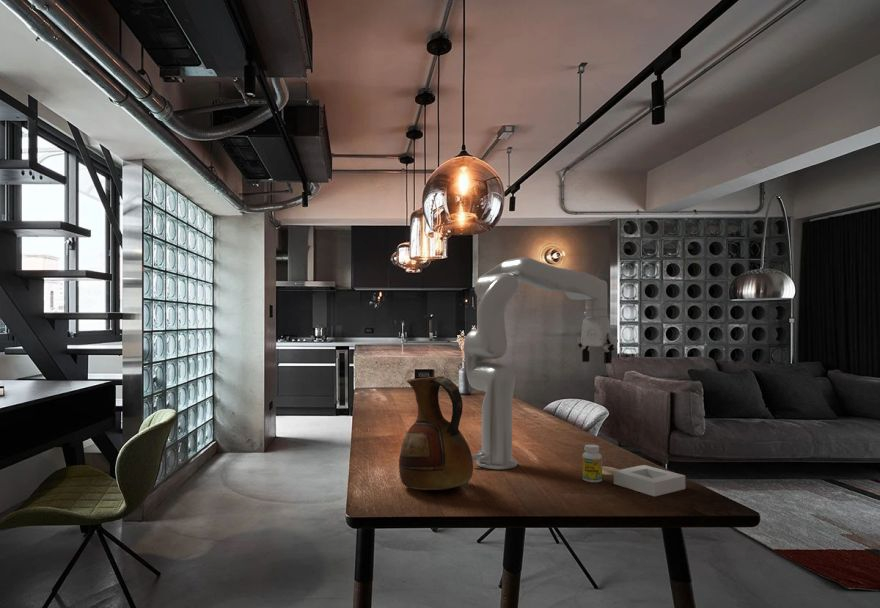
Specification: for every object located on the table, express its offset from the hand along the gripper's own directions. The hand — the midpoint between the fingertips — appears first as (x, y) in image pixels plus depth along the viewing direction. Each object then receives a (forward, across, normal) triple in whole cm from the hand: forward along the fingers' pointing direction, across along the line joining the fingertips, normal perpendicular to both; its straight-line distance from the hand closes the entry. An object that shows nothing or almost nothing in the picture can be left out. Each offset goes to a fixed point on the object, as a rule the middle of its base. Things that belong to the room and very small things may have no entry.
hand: (596, 362), depth 192 cm
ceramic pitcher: (+31, +6, -74) cm, 80 cm away
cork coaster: (+31, +20, -21) cm, 43 cm away
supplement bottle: (+31, +24, -32) cm, 51 cm away
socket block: (+31, +37, -24) cm, 54 cm away
